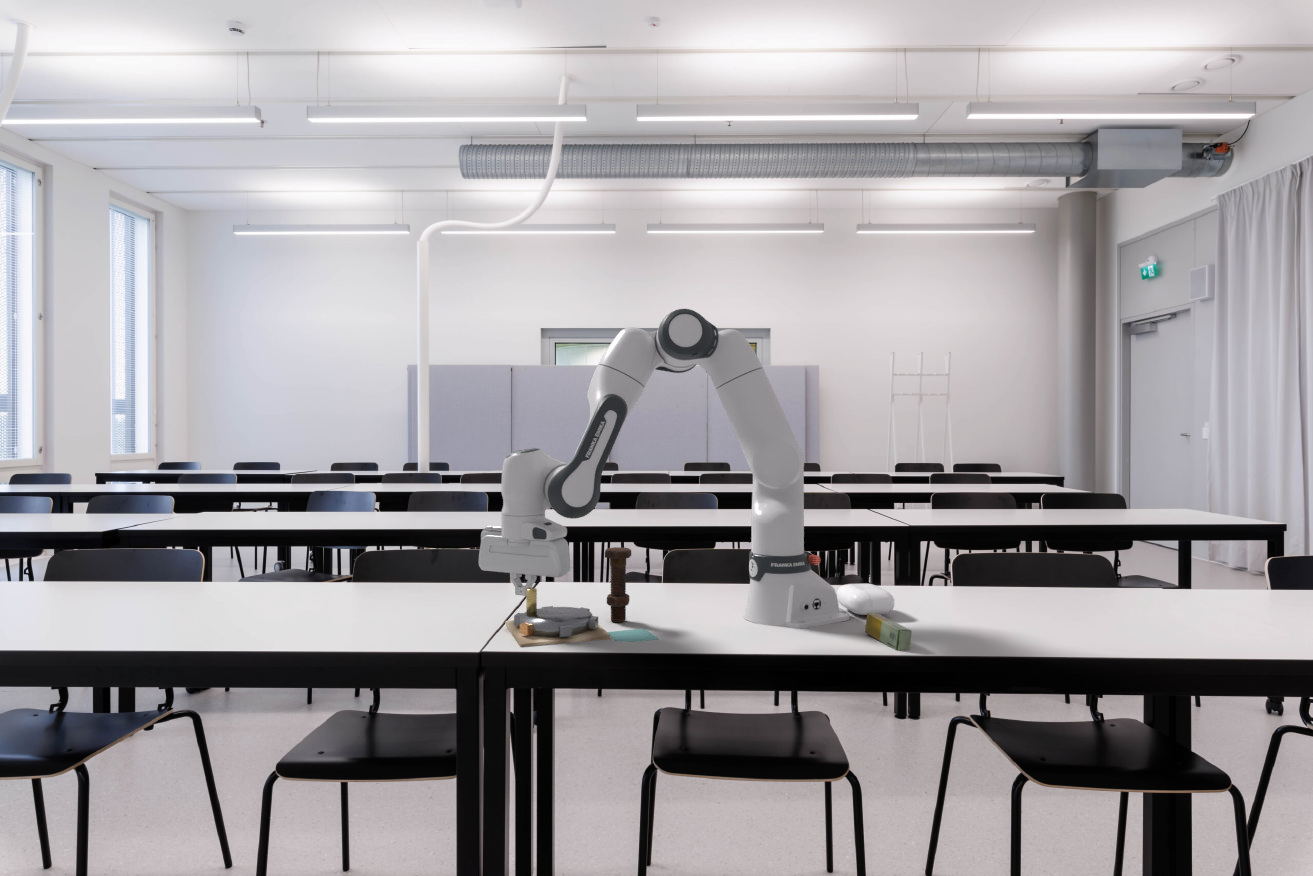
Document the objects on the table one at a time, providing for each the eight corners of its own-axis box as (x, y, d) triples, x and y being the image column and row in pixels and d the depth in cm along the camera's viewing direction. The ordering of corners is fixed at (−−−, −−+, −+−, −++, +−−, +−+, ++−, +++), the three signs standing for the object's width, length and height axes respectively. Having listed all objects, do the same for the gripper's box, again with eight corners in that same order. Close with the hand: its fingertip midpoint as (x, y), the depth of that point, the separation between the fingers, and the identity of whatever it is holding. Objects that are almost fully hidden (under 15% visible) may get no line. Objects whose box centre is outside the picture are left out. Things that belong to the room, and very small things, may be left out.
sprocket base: (586, 618, 155) (586, 613, 155) (610, 640, 139) (610, 635, 139) (505, 626, 149) (505, 621, 149) (520, 649, 133) (520, 644, 133)
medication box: (910, 652, 132) (913, 630, 132) (897, 652, 132) (899, 630, 131) (876, 632, 144) (878, 612, 144) (863, 632, 143) (865, 612, 143)
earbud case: (873, 603, 169) (874, 579, 169) (900, 617, 156) (900, 592, 156) (831, 604, 167) (831, 581, 167) (854, 619, 154) (854, 594, 154)
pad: (644, 629, 146) (644, 628, 146) (658, 640, 139) (658, 639, 138) (606, 633, 143) (606, 632, 143) (618, 645, 136) (618, 643, 136)
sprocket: (605, 617, 150) (605, 583, 150) (586, 638, 135) (586, 600, 135) (529, 614, 153) (529, 580, 153) (501, 634, 138) (501, 597, 137)
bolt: (627, 625, 149) (627, 551, 149) (603, 624, 150) (603, 551, 150) (632, 618, 155) (632, 547, 155) (609, 617, 156) (609, 546, 155)
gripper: (472, 526, 152) (472, 593, 152) (558, 532, 144) (558, 603, 144) (490, 523, 157) (490, 587, 158) (574, 528, 149) (574, 596, 150)
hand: (523, 595), depth 151 cm, fingers closed
